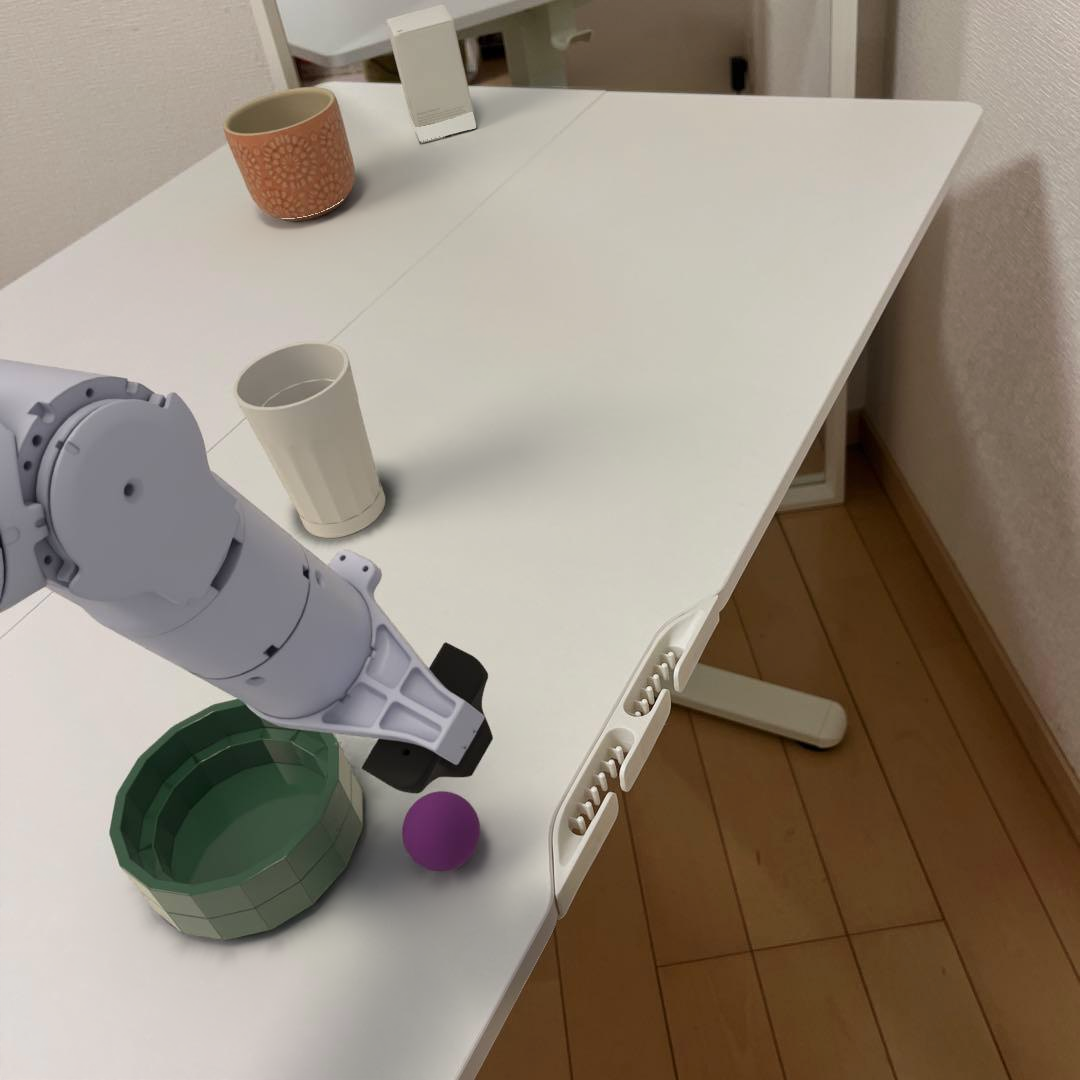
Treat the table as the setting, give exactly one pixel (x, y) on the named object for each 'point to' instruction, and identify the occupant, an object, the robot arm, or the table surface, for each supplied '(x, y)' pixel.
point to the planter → (292, 152)
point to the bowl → (236, 821)
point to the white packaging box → (430, 65)
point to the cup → (314, 434)
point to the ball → (441, 831)
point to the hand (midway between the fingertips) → (409, 716)
